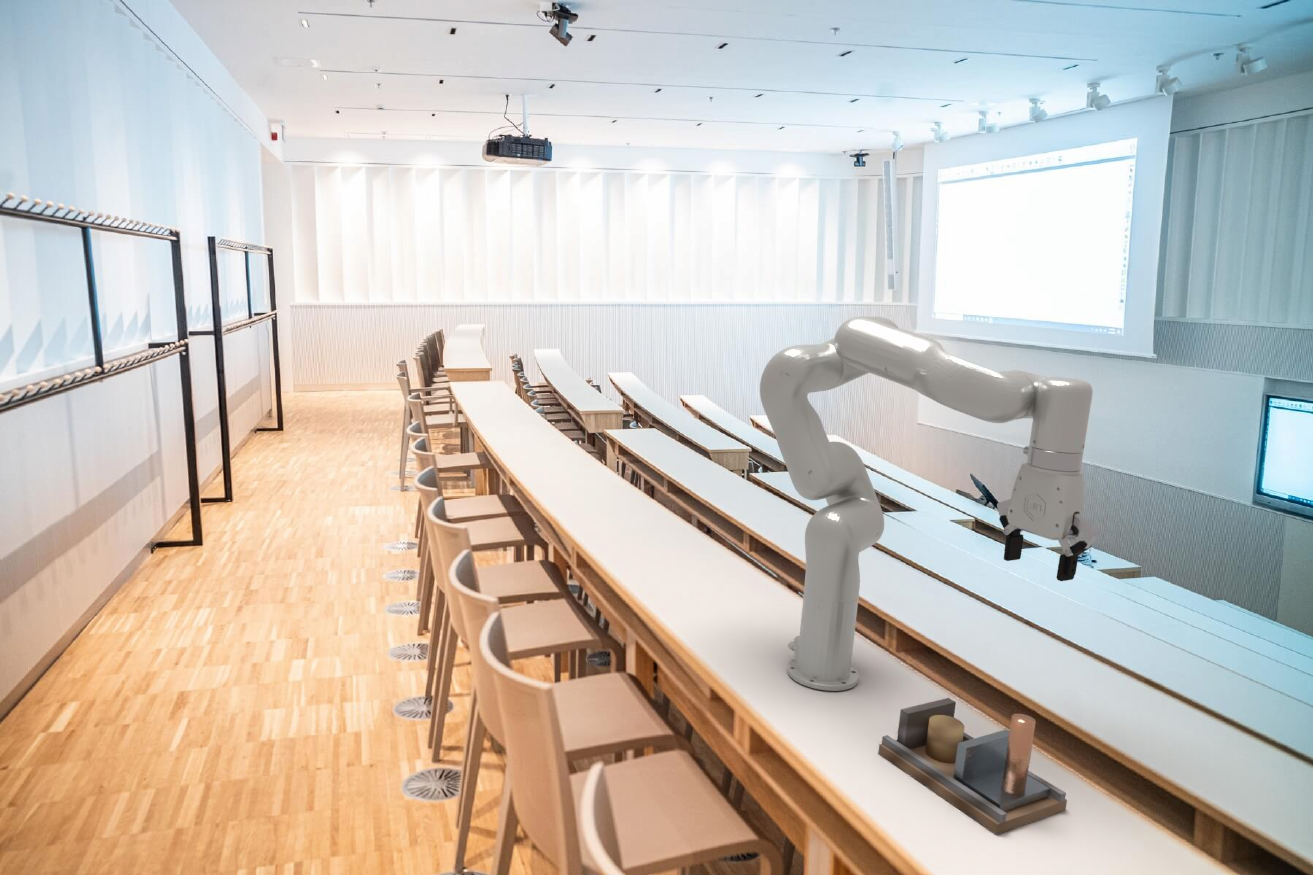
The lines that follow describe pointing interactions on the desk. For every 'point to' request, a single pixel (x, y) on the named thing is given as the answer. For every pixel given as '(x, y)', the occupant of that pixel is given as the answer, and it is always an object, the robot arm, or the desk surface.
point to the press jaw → (1001, 765)
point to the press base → (940, 775)
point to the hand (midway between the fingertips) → (1037, 569)
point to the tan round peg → (944, 738)
